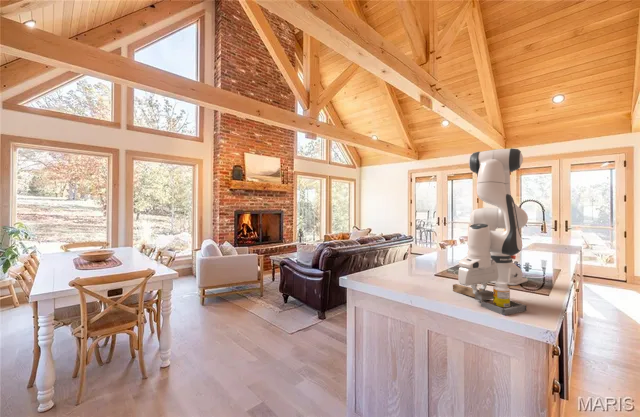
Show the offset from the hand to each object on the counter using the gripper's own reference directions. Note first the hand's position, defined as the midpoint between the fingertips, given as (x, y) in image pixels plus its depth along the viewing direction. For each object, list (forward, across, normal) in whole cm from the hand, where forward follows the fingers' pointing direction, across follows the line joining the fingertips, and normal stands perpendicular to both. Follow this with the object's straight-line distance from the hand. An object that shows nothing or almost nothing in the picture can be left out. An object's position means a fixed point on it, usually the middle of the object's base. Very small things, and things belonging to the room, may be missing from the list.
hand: (479, 293), depth 121 cm
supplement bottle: (+3, 0, +10) cm, 11 cm away
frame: (+3, 0, +11) cm, 11 cm away
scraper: (+2, 0, -4) cm, 5 cm away
